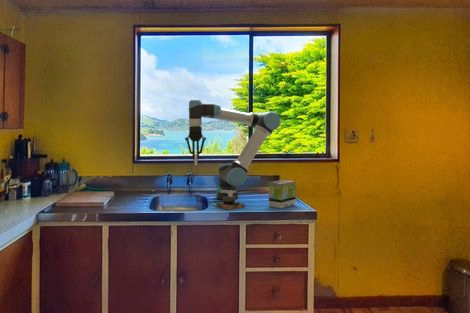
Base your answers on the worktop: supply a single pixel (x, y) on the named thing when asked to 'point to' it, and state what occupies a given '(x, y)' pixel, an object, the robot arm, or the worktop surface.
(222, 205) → the stand
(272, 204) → the tea box
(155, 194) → the worktop surface
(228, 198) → the cam capstan
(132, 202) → the worktop surface
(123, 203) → the worktop surface
